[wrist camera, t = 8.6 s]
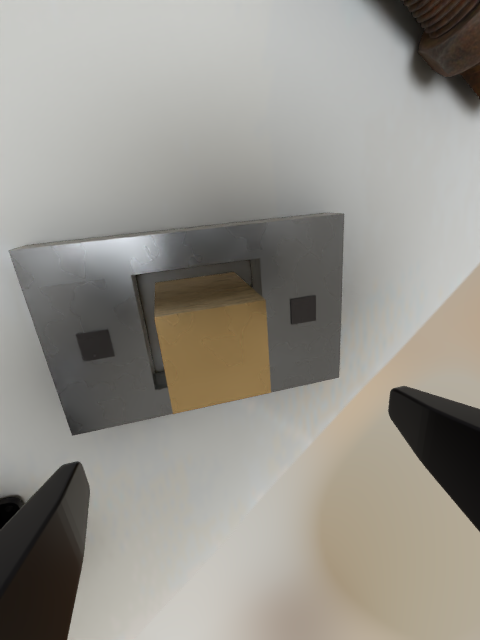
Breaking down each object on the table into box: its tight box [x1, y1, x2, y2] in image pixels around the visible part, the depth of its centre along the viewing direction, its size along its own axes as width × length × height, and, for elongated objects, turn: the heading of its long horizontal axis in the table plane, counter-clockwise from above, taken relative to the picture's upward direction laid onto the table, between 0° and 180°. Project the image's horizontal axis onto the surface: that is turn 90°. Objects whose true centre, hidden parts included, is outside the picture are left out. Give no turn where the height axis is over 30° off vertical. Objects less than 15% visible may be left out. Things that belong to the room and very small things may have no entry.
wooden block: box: [154, 272, 271, 414], centre depth 16 cm, size 4×4×6 cm
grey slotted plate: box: [9, 213, 344, 436], centre depth 18 cm, size 10×16×2 cm, turn 96°
